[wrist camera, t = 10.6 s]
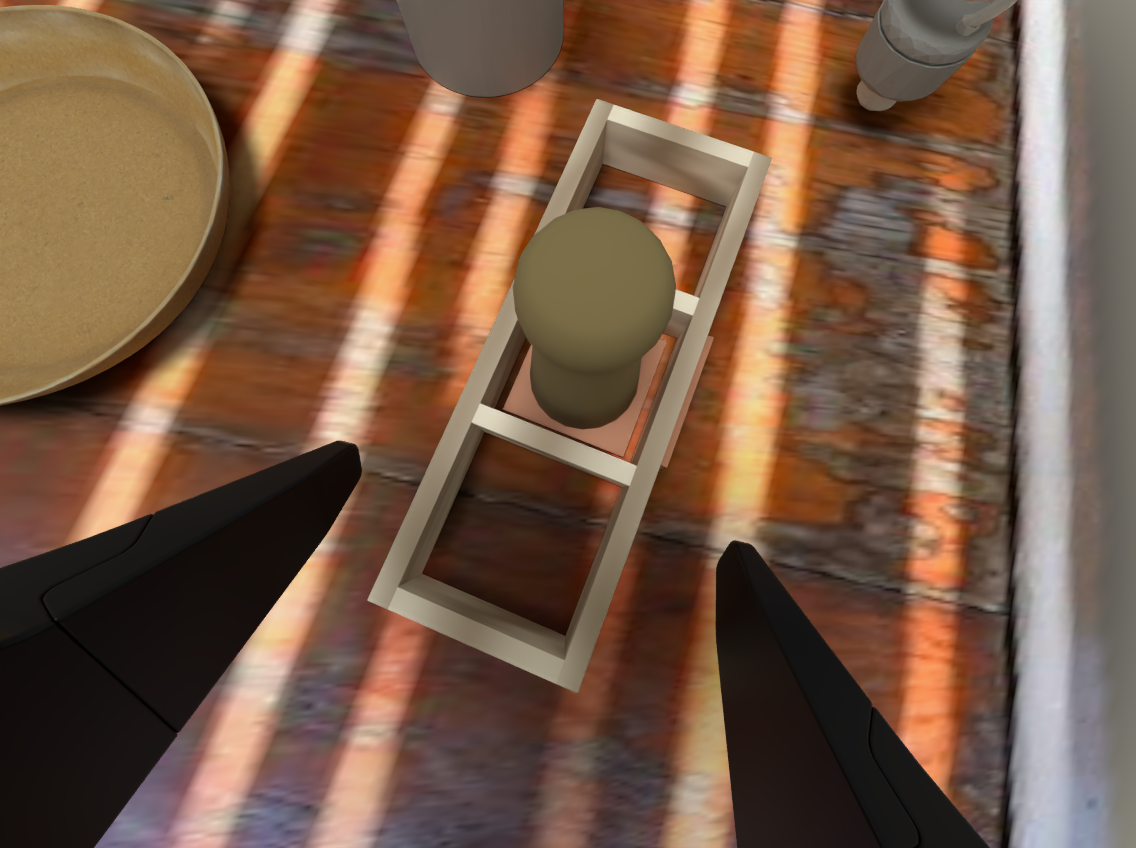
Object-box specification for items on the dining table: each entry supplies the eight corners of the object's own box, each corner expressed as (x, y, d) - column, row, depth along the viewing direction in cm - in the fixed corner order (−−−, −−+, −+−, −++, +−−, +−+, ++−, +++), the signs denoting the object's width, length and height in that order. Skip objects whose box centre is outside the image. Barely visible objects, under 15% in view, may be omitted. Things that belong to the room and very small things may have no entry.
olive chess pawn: (661, 390, 22) (747, 291, 11) (569, 451, 22) (567, 409, 11) (598, 304, 23) (622, 136, 12) (508, 361, 22) (450, 238, 12)
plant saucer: (344, 202, 25) (310, 158, 22) (31, 511, 22) (-64, 514, 19) (91, 2, 27) (27, -64, 24) (-220, 253, 24) (-342, 216, 21)
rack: (753, 200, 24) (779, 160, 21) (583, 667, 20) (586, 697, 17) (593, 145, 25) (596, 99, 22) (396, 585, 21) (367, 600, 18)
